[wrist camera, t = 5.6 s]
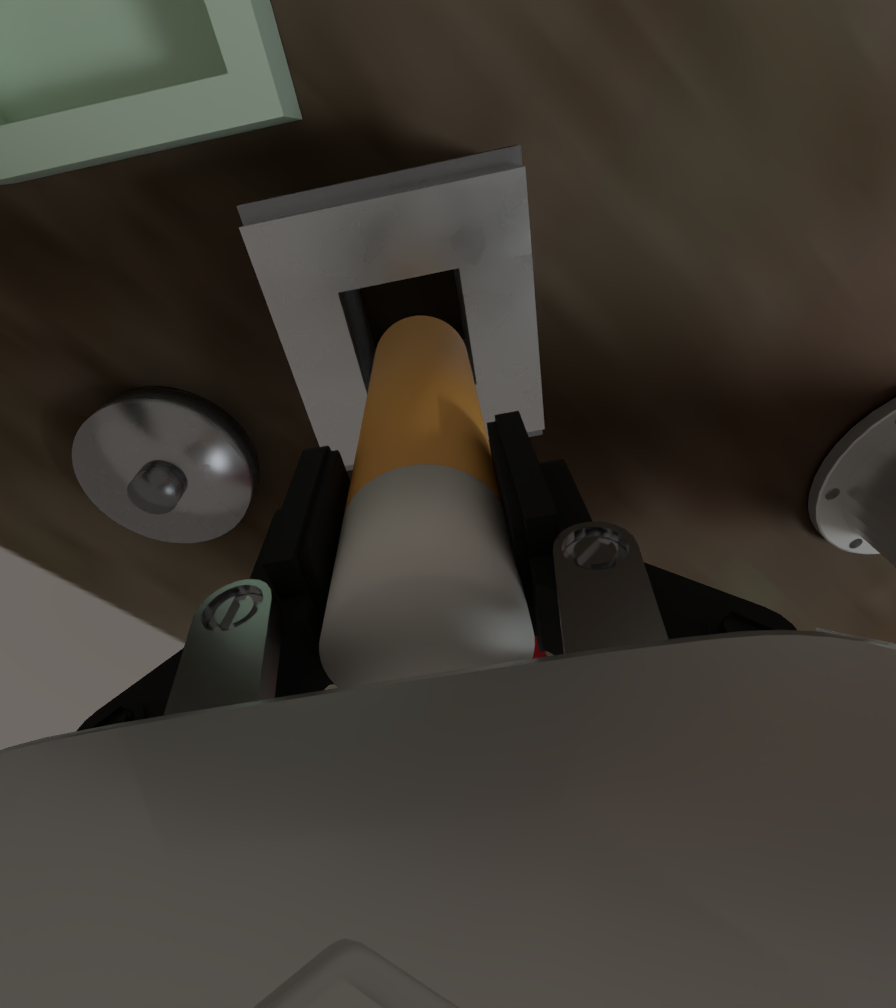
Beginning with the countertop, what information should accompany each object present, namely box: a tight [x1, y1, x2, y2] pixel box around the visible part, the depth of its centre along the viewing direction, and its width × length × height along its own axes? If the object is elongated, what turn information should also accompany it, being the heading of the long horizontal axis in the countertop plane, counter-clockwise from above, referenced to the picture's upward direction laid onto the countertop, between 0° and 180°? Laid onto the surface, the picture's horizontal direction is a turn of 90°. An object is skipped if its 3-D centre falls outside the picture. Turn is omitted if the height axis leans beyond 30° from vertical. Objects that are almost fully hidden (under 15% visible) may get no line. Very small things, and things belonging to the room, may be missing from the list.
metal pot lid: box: [72, 386, 259, 543], centre depth 28 cm, size 9×9×4 cm
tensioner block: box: [237, 145, 545, 471], centre depth 23 cm, size 10×11×6 cm
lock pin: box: [319, 316, 535, 688], centre depth 13 cm, size 3×3×13 cm
